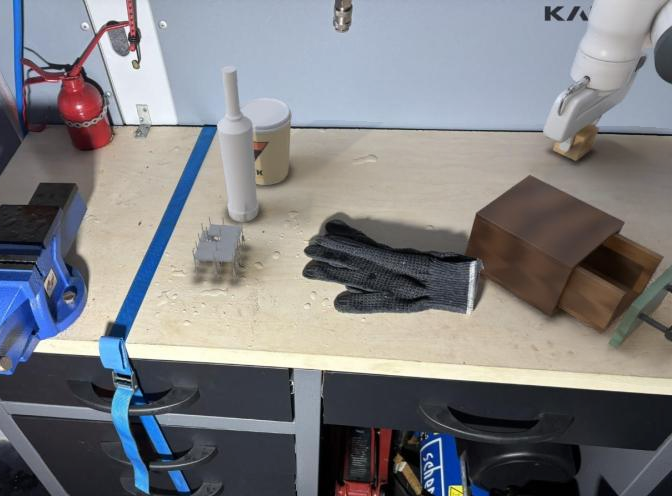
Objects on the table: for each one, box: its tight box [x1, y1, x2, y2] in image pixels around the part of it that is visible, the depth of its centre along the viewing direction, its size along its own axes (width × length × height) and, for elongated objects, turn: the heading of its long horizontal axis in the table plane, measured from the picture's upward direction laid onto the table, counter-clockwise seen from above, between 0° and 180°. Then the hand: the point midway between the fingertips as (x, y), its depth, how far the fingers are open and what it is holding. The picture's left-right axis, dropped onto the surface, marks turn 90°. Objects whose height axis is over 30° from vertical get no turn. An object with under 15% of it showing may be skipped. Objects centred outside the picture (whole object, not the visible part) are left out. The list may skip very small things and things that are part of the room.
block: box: [552, 124, 600, 162], centre depth 105 cm, size 5×5×5 cm
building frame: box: [191, 216, 246, 283], centre depth 90 cm, size 6×8×6 cm
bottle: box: [216, 65, 260, 223], centre depth 91 cm, size 5×5×25 cm
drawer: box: [557, 232, 672, 350], centre depth 79 cm, size 18×11×8 cm, turn 40°
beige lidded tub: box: [240, 97, 293, 186], centre depth 103 cm, size 9×9×12 cm
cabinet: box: [464, 174, 626, 318], centre depth 85 cm, size 15×13×10 cm
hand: (574, 142), depth 106 cm, fingers closed on block, 4 cm apart
